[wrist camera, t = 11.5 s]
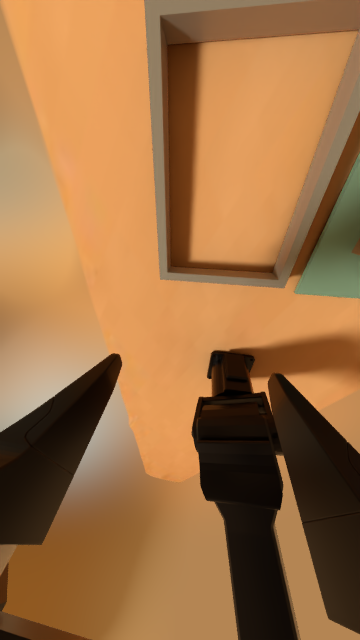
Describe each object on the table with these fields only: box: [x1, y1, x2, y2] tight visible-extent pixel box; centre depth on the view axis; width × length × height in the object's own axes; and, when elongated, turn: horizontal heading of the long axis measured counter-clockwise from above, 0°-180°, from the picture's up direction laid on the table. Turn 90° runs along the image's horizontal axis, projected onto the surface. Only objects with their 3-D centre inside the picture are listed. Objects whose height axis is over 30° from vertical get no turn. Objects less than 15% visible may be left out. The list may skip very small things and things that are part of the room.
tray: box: [144, 0, 360, 288], centre depth 13 cm, size 16×13×2 cm
